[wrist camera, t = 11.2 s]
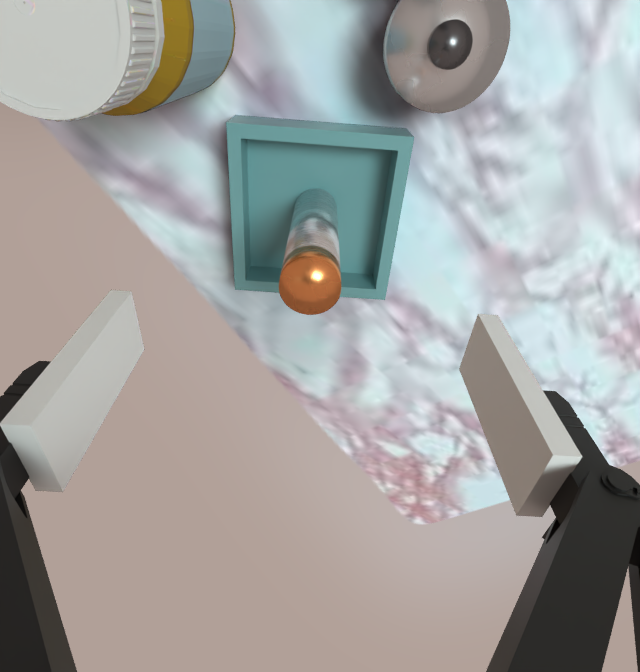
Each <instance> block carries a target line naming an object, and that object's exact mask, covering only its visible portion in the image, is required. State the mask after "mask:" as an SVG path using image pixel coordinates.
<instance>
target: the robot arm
mask: <svg viewBox="0 0 640 672" xmlns="http://www.w3.org/2000/svg"><path fill="white" fill-rule="evenodd" d="M143 351H144V345H143V340H142V336H141V331H140V327H139V322H138V318H137V314H136V309H135V304H134V300H133V295H132V292H131V291H121V290H110V292H109V293H108V294H107V295H106V297H105V298H104V299H103V300H102V301H101V302H100V304H99V305H98V306H97V307H96V308H95V310H94V311H93V312H92V313H91V314H90V316H89V317H88V318H87V319H86V321H85V322H84V323H83V324H82V325H81V326H80V328H79V329H78V330H77V331H76V332H75V334H74V335H73V336H72V337H71V338H70V340H69V341H68V342H67V343H66V344H65V346H64V347H63V348H62V349H61V350H60V352H59V353H58V354H57V355H56V356H55V358H54V359H53V360H52V361H51V362H49V361H48V362H47V361H38V362H37V363H35V364H34V365H32V366H31V367H29V368H27V369H26V370H24V371H23V372H22V373H21V374H20V376H18V378H17V379H16V380H15V381H14V382H13V385H11V386H10V387H9V388H8V389H7V390H6V391H5V392H4V395H3V396H1V397H0V672H77V670H76V667H75V663H74V660H73V657H72V654H71V651H70V647H69V644H68V640H67V637H66V634H65V630H64V627H63V624H62V621H61V617H60V614H59V611H58V607H57V604H56V600H55V597H54V594H53V590H52V587H51V584H50V581H49V577H48V574H47V571H46V567H45V564H44V560H43V557H42V554H41V550H40V547H39V544H38V541H37V537H36V534H35V531H34V527H33V524H32V521H31V518H30V514H29V511H28V507H27V504H26V501H25V497H24V495H23V494H22V492H21V489H22V488H23V486H24V485H25V483H26V482H27V480H28V479H30V481H31V483H32V485H33V486H34V488H35V490H36V491H53V492H63V491H64V489H65V488H66V486H67V484H68V482H69V480H70V479H71V477H72V475H73V474H74V472H75V470H76V468H77V466H78V465H79V463H80V461H81V460H82V458H83V456H84V454H85V453H86V451H87V449H88V447H89V446H90V444H91V442H92V440H93V439H94V437H95V435H96V433H97V432H98V430H99V428H100V426H101V425H102V423H103V421H104V419H105V418H106V416H107V414H108V412H109V411H110V409H111V407H112V405H113V404H114V402H115V400H116V398H117V397H118V395H119V393H120V391H121V390H122V388H123V386H124V384H125V382H126V381H127V379H128V377H129V375H130V374H131V372H132V370H133V369H134V367H135V365H136V363H137V362H138V360H139V358H140V356H141V355H142V353H143ZM459 370H460V372H461V375H462V377H463V380H464V382H465V385H466V388H467V390H468V393H469V395H470V398H471V400H472V403H473V405H474V408H475V411H476V413H477V416H478V418H479V421H480V423H481V426H482V429H483V431H484V434H485V436H486V439H487V441H488V444H489V446H490V449H491V452H492V454H493V457H494V459H495V462H496V464H497V467H498V470H499V472H500V475H501V477H502V480H503V482H504V485H505V487H506V490H507V493H508V495H509V498H510V500H511V503H512V505H513V508H514V511H515V513H516V515H517V516H535V517H542V516H543V515H544V513H545V512H546V510H547V509H548V507H549V506H550V505H551V508H552V509H553V512H554V514H555V516H556V518H555V520H554V521H553V523H552V524H551V526H550V527H549V528H548V530H547V531H546V532H545V534H544V535H543V537H542V538H544V539H545V540H544V542H543V544H542V547H541V549H540V551H539V553H538V556H537V558H536V560H535V563H534V565H533V567H532V569H531V571H530V574H529V576H528V578H527V581H526V583H525V585H524V587H523V590H522V592H521V594H520V596H519V599H518V601H517V603H516V605H515V608H514V610H513V612H512V615H511V617H510V619H509V622H508V624H507V626H506V628H505V630H504V632H503V635H502V637H501V640H500V641H499V644H498V646H497V648H496V650H495V653H494V655H493V657H492V659H491V662H490V664H489V666H488V669H487V671H486V672H601V671H602V667H603V663H604V659H605V655H606V651H607V647H608V644H609V639H610V636H611V632H612V628H613V624H614V620H615V616H616V612H617V608H618V604H619V600H620V596H621V592H622V588H623V584H624V580H625V576H626V572H627V569H628V566H629V577H630V587H631V599H632V610H633V622H634V633H635V644H636V655H637V665H638V672H640V485H639V484H638V483H637V482H636V481H635V480H634V479H633V478H632V477H631V476H630V475H628V474H627V473H625V472H624V471H622V470H621V469H618V468H616V467H613V466H610V465H609V464H608V462H607V461H606V459H605V458H604V456H603V455H602V453H601V452H600V450H599V449H598V447H597V445H596V444H595V442H594V441H593V439H592V438H591V436H590V435H589V433H588V432H587V430H586V429H585V428H584V427H583V426H584V425H583V424H582V422H581V421H580V419H579V418H577V415H576V413H575V412H574V410H573V408H572V407H571V405H570V404H569V403H568V402H567V401H566V400H565V399H564V398H563V397H561V396H560V395H559V394H558V393H557V392H556V391H543V390H542V388H541V387H540V385H539V383H538V382H537V380H536V378H535V377H534V375H533V373H532V372H531V370H530V368H529V367H528V365H527V363H526V362H525V360H524V358H523V357H522V355H521V353H520V352H519V350H518V348H517V347H516V345H515V343H514V342H513V340H512V338H511V337H510V335H509V333H508V332H507V330H506V328H505V327H504V325H503V323H502V322H501V320H500V318H499V317H498V315H485V314H478V316H477V319H476V322H475V324H474V327H473V330H472V333H471V336H470V339H469V342H468V345H467V348H466V351H465V354H464V357H463V359H462V362H461V365H460V368H459Z"/></svg>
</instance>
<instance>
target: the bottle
mask: <svg viewBox="0 0 640 672" xmlns="http://www.w3.org/2000/svg"><path fill="white" fill-rule="evenodd" d="M234 38H235V22H234V15H233V8H232V4H231V1H230V0H0V102H1V103H3V104H5V105H7V106H9V107H11V108H13V109H15V110H17V111H19V112H22V113H25V114H27V115H30V116H34V117H37V118H42V119H45V120H55V121H62V120H65V121H72V120H80V119H83V118H87V117H90V116H94V115H97V114H100V113H103V114H106V115H113V116H119V115H134V114H138V113H142V112H146V111H149V110H151V109H154V108H157V107H159V106H162V105H165V104H167V103H170V102H172V101H175V100H178V99H180V98H183V97H186V96H188V95H191V94H193V93H196V92H198V91H200V90H202V89H205V88H207V87H208V86H210V85H211V84H213V83H214V82H215V81H216V80H217V79H218V78H219V77H220V76H221V74H222V73H223V72H224V70H225V69H226V67H227V64H228V62H229V60H230V58H231V55H232V52H233V47H234Z"/></svg>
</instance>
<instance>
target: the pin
mask: <svg viewBox="0 0 640 672" xmlns="http://www.w3.org/2000/svg"><path fill="white" fill-rule="evenodd" d="M279 293H280V296H281V298H282V300H283V301H284V303H285V304H286V305H287V306H288V307H290V308H291V309H292V310H294V311H296V312H299V313H302V314H307V315H314V314H320V313H323V312H325V311H327V310H329V309H330V308H331V307H333V306H334V305H335V304H336V302H337V301H338V299H339V297H340V294H341V271H340V254H339V236H338V218H337V205H336V202H335V200H334V198H333V196H332V195H331V194H330V193H328V192H327V191H325V190H323V189H319V188H311V189H308V190H306V191H304V192H303V193H301V194H300V195H299V197H298V198H297V200H296V202H295V207H294V211H293V216H292V221H291V226H290V231H289V236H288V241H287V246H286V250H285V255H284V260H283V265H282V270H281V275H280V280H279Z"/></svg>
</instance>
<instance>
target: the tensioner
mask: <svg viewBox="0 0 640 672" xmlns="http://www.w3.org/2000/svg"><path fill="white" fill-rule="evenodd" d="M509 37H510V16H509V10H508V6H507V2H506V0H399V2H398V3H397V5H396V6H395V8H394V10H393V12H392V14H391V16H390V19H389V21H388V24H387V28H386V31H385V37H384V45H383V58H384V65H385V69H386V73H387V76H388V78H389V81H390V83H391V84H392V86H393V88H394V89H395V91H396V92H397V93H398V94H399V95H400V96H401V97H402V98H403V99H404V100H405V101H407V102H408V103H410V104H411V105H412V106H414V107H416V108H418V109H420V110H423V111H426V112H431V113H445V112H450V111H454V110H457V109H459V108H462V107H464V106H466V105H467V104H469V103H471V102H472V101H474V100H475V99H476V98H478V97H479V96H480V95H481V94H482V93H483V92H484V91H485V90H486V89H487V88H488V86H489V85H490V84H491V83H492V81H493V80H494V78H495V77H496V75H497V73H498V72H499V70H500V68H501V66H502V63H503V61H504V58H505V55H506V52H507V48H508V44H509Z"/></svg>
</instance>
